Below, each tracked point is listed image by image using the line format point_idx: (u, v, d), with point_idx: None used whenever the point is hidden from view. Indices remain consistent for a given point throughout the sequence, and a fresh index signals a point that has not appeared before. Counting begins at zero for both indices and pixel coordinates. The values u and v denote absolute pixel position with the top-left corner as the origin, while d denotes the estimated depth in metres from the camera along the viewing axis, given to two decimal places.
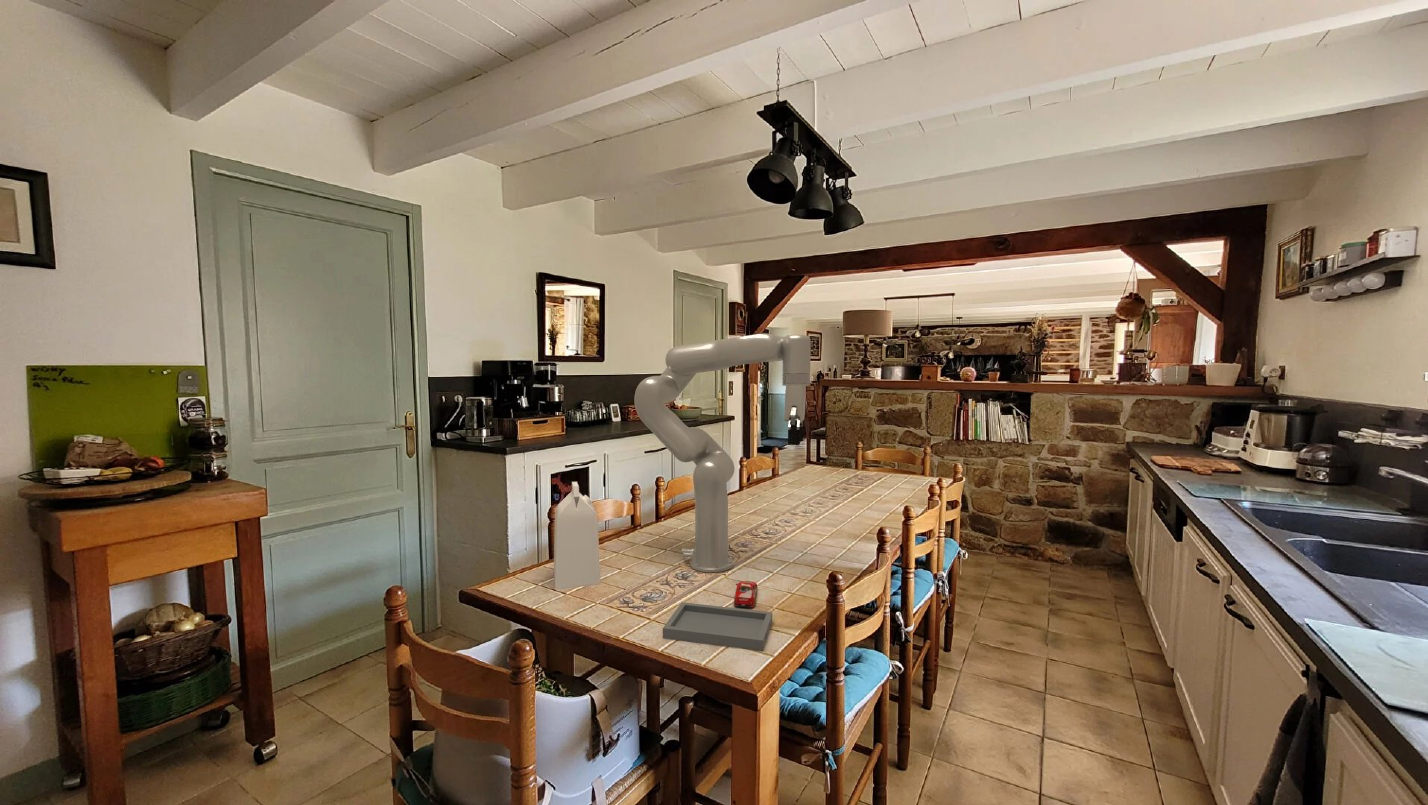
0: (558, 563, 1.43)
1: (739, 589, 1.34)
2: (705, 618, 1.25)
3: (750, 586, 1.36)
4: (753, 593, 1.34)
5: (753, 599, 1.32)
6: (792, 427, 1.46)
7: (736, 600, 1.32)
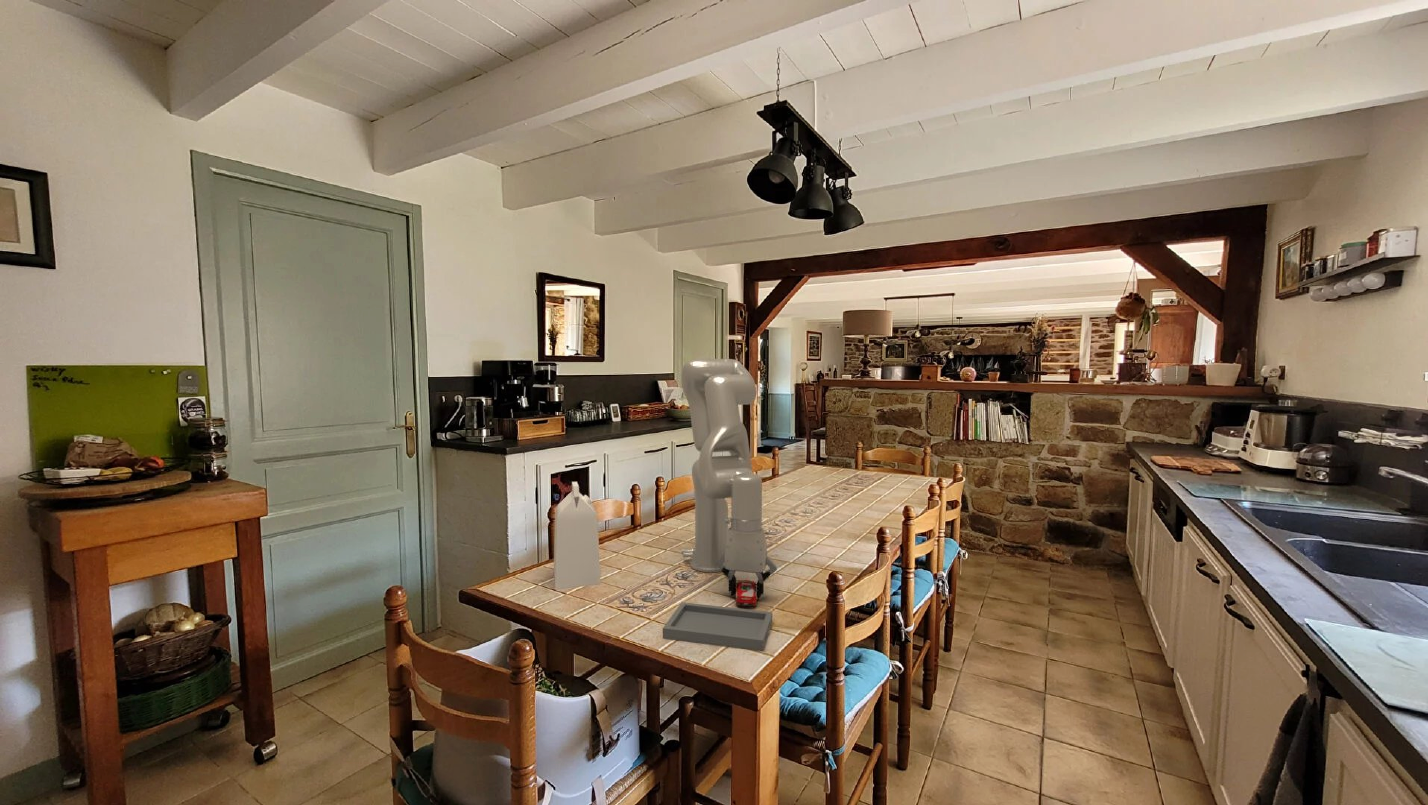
0: (558, 563, 1.43)
1: (740, 588, 1.34)
2: (705, 618, 1.25)
3: (751, 585, 1.36)
4: (754, 592, 1.34)
5: (755, 598, 1.32)
6: (766, 578, 1.36)
7: (738, 599, 1.32)
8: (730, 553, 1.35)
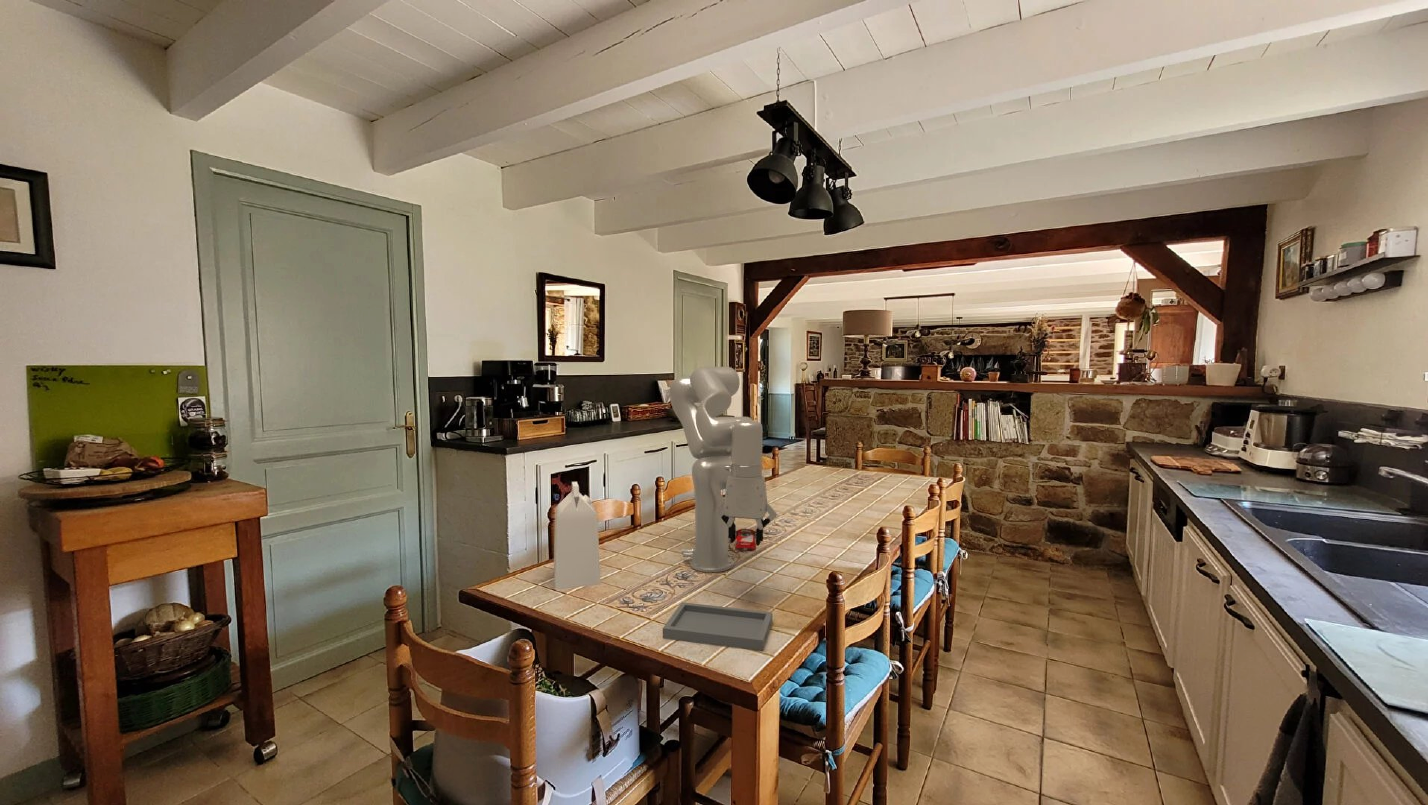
0: (558, 563, 1.43)
1: (740, 534, 1.34)
2: (705, 618, 1.25)
3: (751, 531, 1.35)
4: (754, 538, 1.34)
5: (754, 543, 1.32)
6: (765, 525, 1.35)
7: (738, 544, 1.31)
8: (730, 499, 1.35)
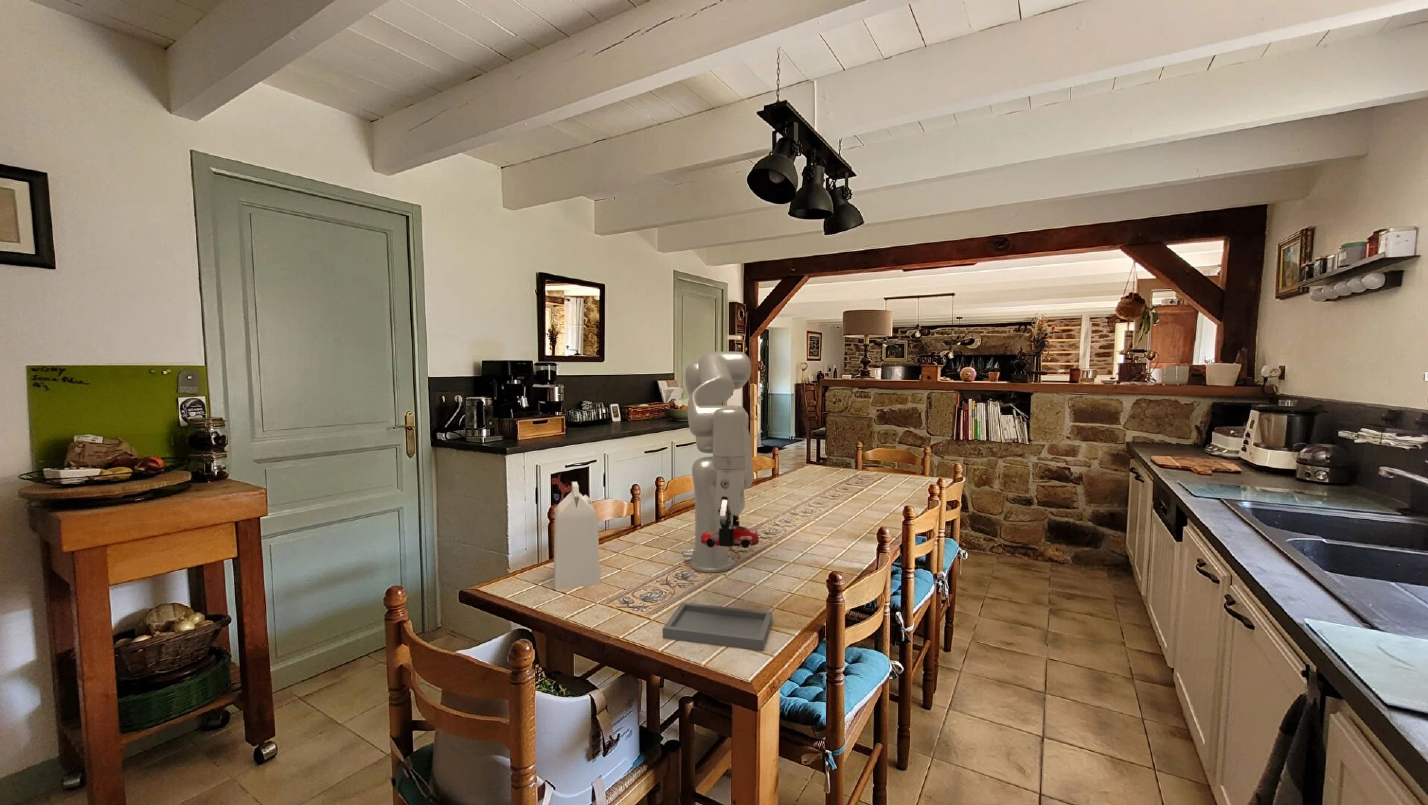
0: (558, 563, 1.43)
1: (744, 530, 1.24)
2: (705, 618, 1.25)
3: (736, 526, 1.27)
4: None
5: None
6: None
7: (756, 538, 1.24)
8: (738, 496, 1.21)
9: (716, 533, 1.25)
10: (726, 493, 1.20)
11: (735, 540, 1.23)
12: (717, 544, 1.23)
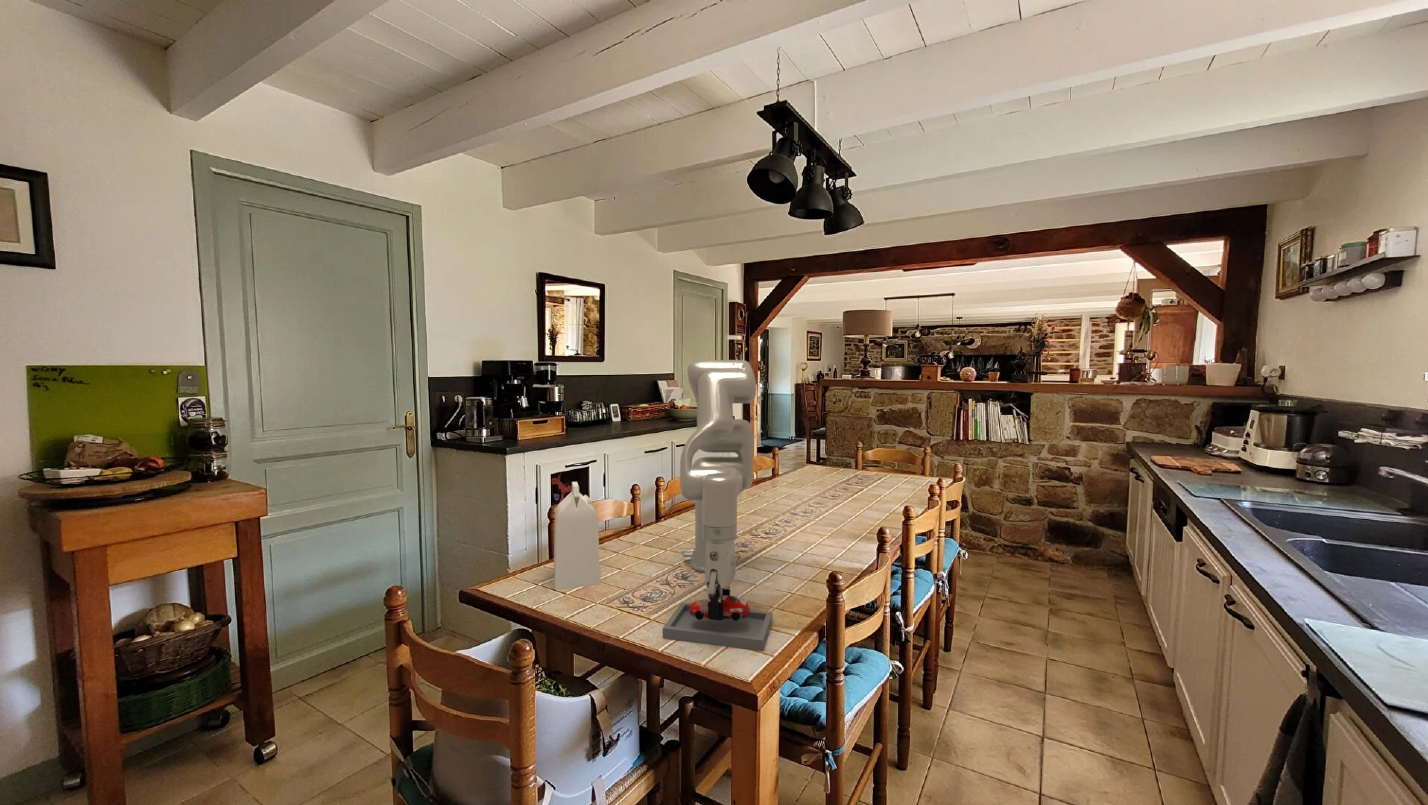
0: (558, 563, 1.43)
1: (734, 601, 1.19)
2: (705, 618, 1.25)
3: (726, 595, 1.22)
4: None
5: None
6: None
7: (747, 610, 1.18)
8: (728, 568, 1.16)
9: (705, 604, 1.20)
10: (715, 566, 1.15)
11: (725, 612, 1.18)
12: (706, 616, 1.18)
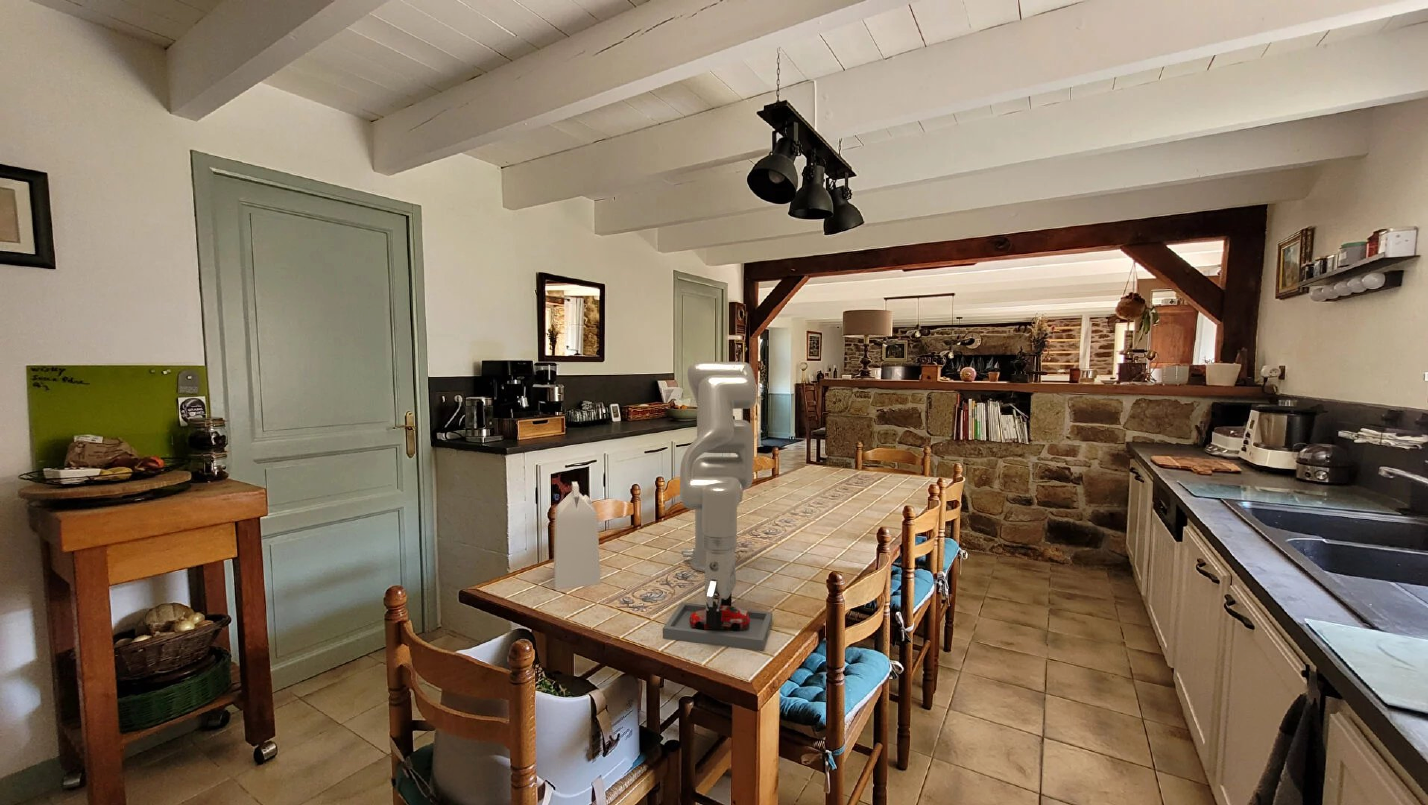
0: (558, 563, 1.43)
1: (734, 612, 1.19)
2: None
3: None
4: None
5: None
6: None
7: (747, 620, 1.19)
8: (728, 578, 1.16)
9: (705, 614, 1.20)
10: (715, 576, 1.15)
11: (725, 623, 1.18)
12: (706, 627, 1.19)
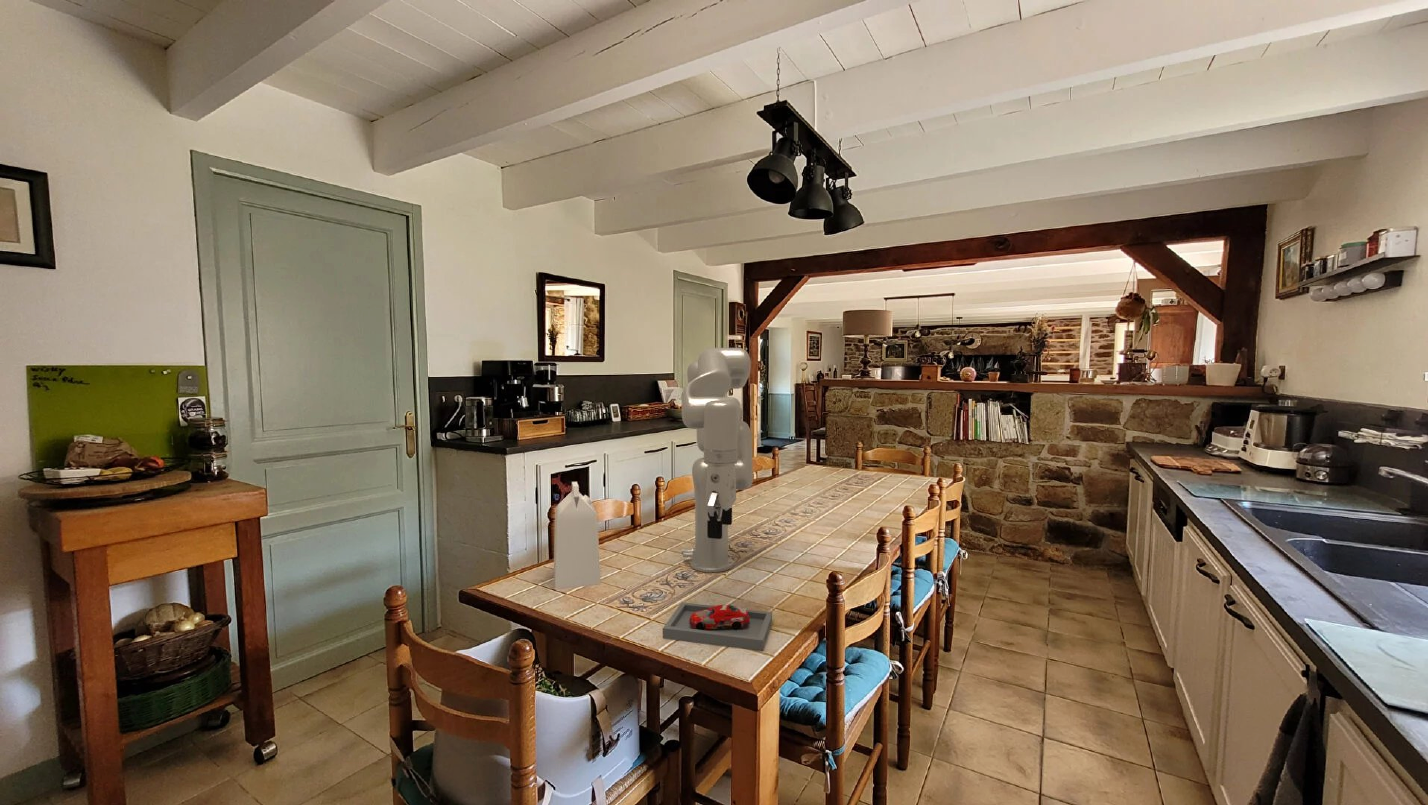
0: (558, 563, 1.43)
1: (734, 611, 1.20)
2: None
3: (725, 605, 1.22)
4: None
5: None
6: None
7: (747, 618, 1.20)
8: (728, 490, 1.20)
9: (706, 615, 1.20)
10: (716, 487, 1.19)
11: (726, 622, 1.19)
12: (707, 627, 1.19)
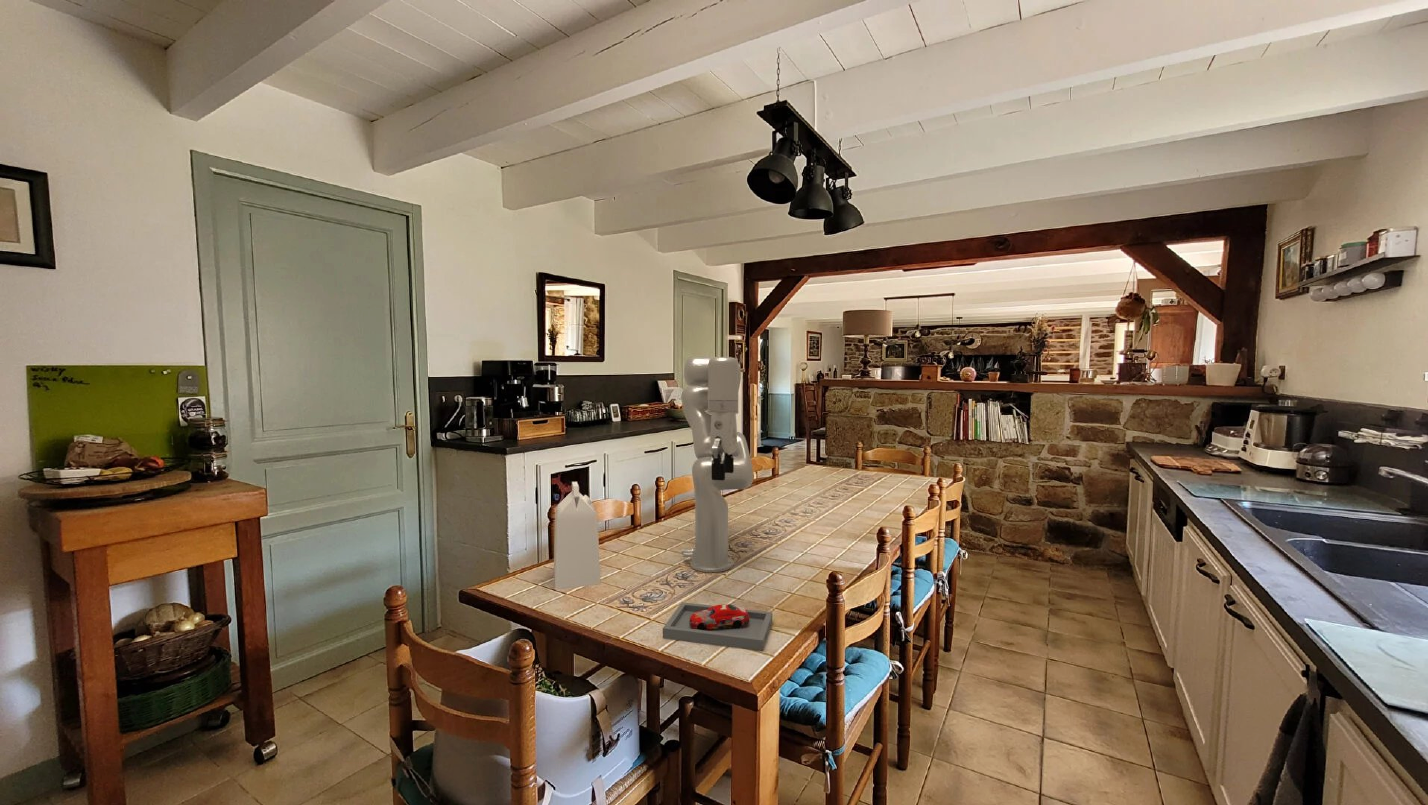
0: (558, 563, 1.43)
1: (735, 610, 1.20)
2: None
3: (725, 604, 1.23)
4: None
5: None
6: None
7: (747, 617, 1.21)
8: (730, 436, 1.33)
9: (706, 615, 1.20)
10: (719, 433, 1.32)
11: (727, 622, 1.19)
12: (709, 627, 1.18)
